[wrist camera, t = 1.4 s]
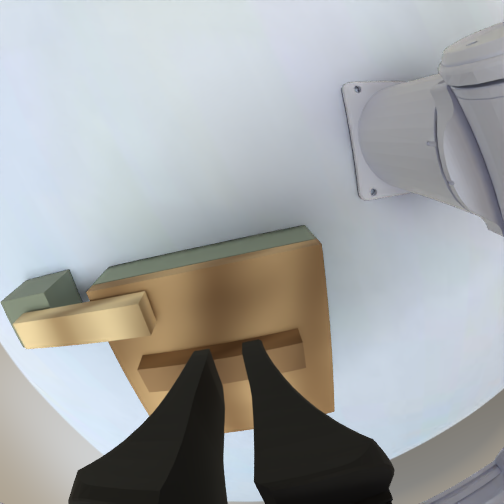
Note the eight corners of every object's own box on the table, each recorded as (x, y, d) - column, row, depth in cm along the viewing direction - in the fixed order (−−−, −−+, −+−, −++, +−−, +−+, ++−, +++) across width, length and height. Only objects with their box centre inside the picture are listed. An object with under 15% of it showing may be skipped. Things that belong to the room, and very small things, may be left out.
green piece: (304, 224, 20) (316, 238, 17) (322, 378, 25) (331, 402, 22) (108, 266, 20) (93, 284, 17) (170, 404, 25) (165, 428, 22)
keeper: (69, 269, 20) (43, 292, 16) (88, 315, 22) (67, 343, 18) (26, 280, 20) (0, 301, 16) (44, 321, 22) (23, 347, 18)
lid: (316, 238, 17) (329, 253, 15) (331, 402, 22) (339, 425, 20) (92, 285, 17) (76, 304, 15) (165, 429, 22) (161, 451, 20)
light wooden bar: (145, 291, 16) (138, 303, 15) (156, 321, 17) (151, 335, 16) (23, 313, 16) (12, 324, 15) (35, 337, 17) (25, 348, 16)
